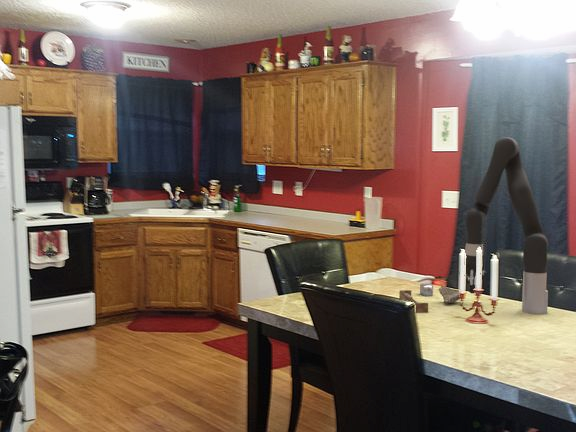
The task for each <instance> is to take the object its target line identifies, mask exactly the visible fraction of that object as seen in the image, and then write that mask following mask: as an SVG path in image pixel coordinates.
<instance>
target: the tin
mask: <svg viewBox="0 0 576 432" xmlns="http://www.w3.org/2000/svg"><path fill="white" fill-rule="evenodd" d="M420 295H421V296H420ZM419 296H420V297H426V298H427V297H430V298H431V297H433V296H434V284H432V283H420V284H419Z"/></svg>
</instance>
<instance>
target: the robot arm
mask: <svg viewBox="0 0 576 432" xmlns="http://www.w3.org/2000/svg"><path fill="white" fill-rule="evenodd" d="M504 171H505V176H506V185H507V193H508V196H509V199H510V202H511V206H512V208H513V211H514V212H515V215H516V216H517V218H518V220H519V221H520V225H521V227H522V231H523V236H524V241H523V248H522V249H523V250H522V253H523V254H522V265H523V269H522V270H523V271H522V273H523V274H522V276H523V277H522V296H521V297H522V298H521V299H522V301H521V302H522V303H521V311H522V313H525V314H529V315H544V314H548V307H549V306H548V303H549V302H548V301H549V300H548V299H549V291H548V290H547V277H548V276H547V274H548V272H547V271H548V262H547V261H548V248H549V240H548V238H547V236H546V234H545V232H544V229H543V227H542V224H541V222H540V219H539V215H538V208H537V204H536V200H535V196H534V193H533V190H532V188H531V184H530V181H529V179H528V176H527V174H526V172H525V168H524V166H523V161H522V158H521V152H520V147H519V144H518V141H516V139H514V138H512V137H508V136H505V137H501V138H498V140H497V141H496V142H495V144H494V147H493V151H492V155H491V159H490V163H489V165H488V168H487V170H486V173H485V175H484V177H483V179H482V181H481V184H480V186H479V187H478V190H477V192H476V195H475V198H474V200H475V201H474V203H473V206H472V208H471V209H469V210H467V212H466V215H465V228H466V229H465V230H466V236H465V237H466V241H465V242H466V243H465V248H464V249H465V250H464V254H465V253H466V256H467V258H466V273H465V274H466V276H467V277H466V284H468V290H467V291H468V292H469V293H470V294H475V293H474V292H473V289H474V288H475V276H476V250H477V248H478V247H479V246H480V247H481V249H482V263H483V261H484V260H483V258H484V232H483V229H482V228H483V223H484V221H485V219H486V218H487V215H488V212H489V210H490V207H491V203H492V202H493V199H494V198H495V196H496V192H497V190H498V188H499V184H500V182H501V178H502V176H503V173H504ZM460 271H461V270H460ZM460 271H458V272H457V273H458V275H459V274H460ZM488 274H489V273H488V272H487V271H485V270H484V267H483V266H482V282H483V281H484V280H485V279H486V277H487V276H488Z"/></svg>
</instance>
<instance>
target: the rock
mask: <svg viewBox="0 0 576 432" xmlns="http://www.w3.org/2000/svg"><path fill="white" fill-rule="evenodd" d="M459 290H460V289H459ZM459 290H458V289H453V288H450V287H447V286H444V285H442V284H441V285H440V287H438V290H437V291H439V293H440V295H441V297H442V299H443V302H444V303H449V304H450V303H455V302H457V301H459V300H461V299H460V297H459Z"/></svg>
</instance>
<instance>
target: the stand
mask: <svg viewBox="0 0 576 432" xmlns="http://www.w3.org/2000/svg"><path fill="white" fill-rule="evenodd" d="M398 292H399V298H400V299H404V300H408V301H411V302H414V303H415V305H416V312H415V313H417V314H418V313H419V314H420V313H421V314H425V313H426V314H427V313H429V303H428V302H418V301H416V300H415V299H414V298H413V296H412V290H410V289H405V290H401V289H400V290H399V291H398ZM400 299H399V300H400Z"/></svg>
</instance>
